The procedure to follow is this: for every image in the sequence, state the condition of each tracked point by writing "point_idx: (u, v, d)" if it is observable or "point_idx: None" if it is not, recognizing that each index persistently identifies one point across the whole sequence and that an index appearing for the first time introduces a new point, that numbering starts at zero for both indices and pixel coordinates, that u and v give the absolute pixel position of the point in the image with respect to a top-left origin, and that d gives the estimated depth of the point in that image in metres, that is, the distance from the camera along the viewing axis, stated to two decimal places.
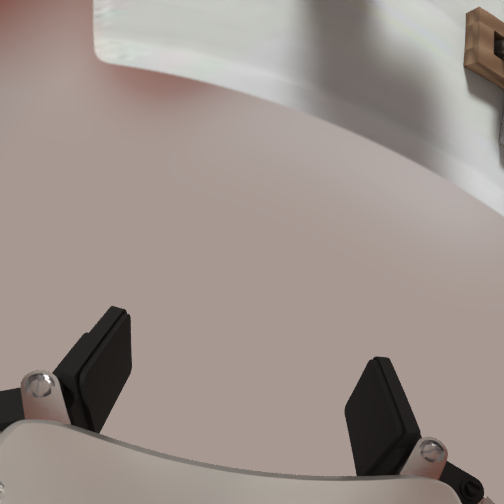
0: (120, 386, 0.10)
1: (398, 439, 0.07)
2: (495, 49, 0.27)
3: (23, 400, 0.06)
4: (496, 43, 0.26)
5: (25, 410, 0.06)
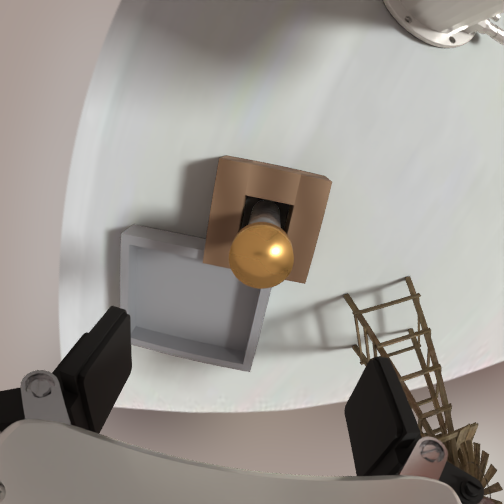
0: (120, 386, 0.10)
1: (398, 439, 0.07)
2: (260, 207, 0.29)
3: (23, 400, 0.06)
4: (270, 208, 0.28)
5: (25, 410, 0.06)
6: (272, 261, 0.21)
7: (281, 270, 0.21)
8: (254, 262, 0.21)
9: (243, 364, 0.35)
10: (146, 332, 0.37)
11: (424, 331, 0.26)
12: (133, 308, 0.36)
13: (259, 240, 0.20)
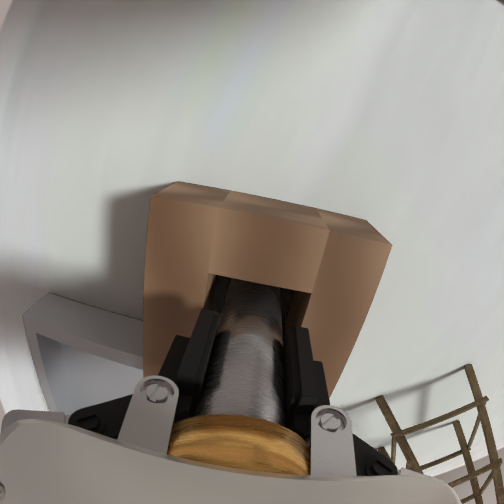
0: None
1: (297, 404, 0.09)
2: (242, 292, 0.14)
3: (132, 398, 0.07)
4: (261, 297, 0.14)
5: (129, 408, 0.07)
6: None
7: None
8: None
9: None
10: None
11: (494, 465, 0.11)
12: (67, 403, 0.21)
13: None
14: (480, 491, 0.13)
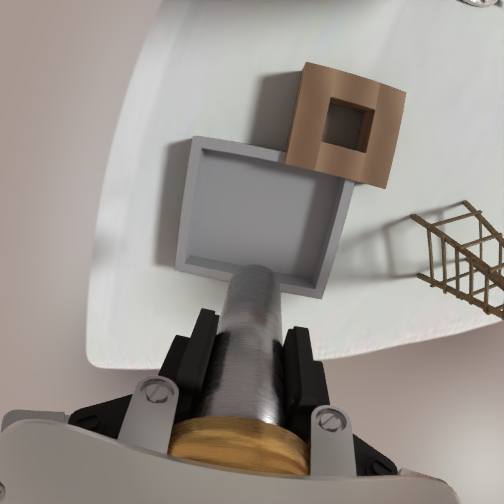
0: None
1: (297, 403, 0.09)
2: (242, 293, 0.14)
3: (132, 398, 0.07)
4: (261, 298, 0.14)
5: (129, 408, 0.07)
6: None
7: None
8: None
9: (315, 289, 0.33)
10: (203, 260, 0.35)
11: (497, 234, 0.24)
12: (191, 229, 0.33)
13: None
14: None
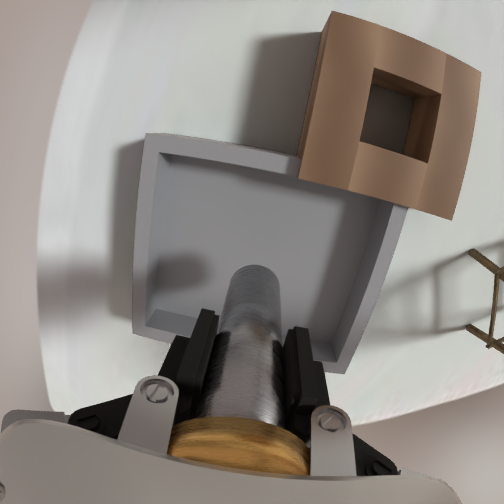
0: None
1: (297, 403, 0.09)
2: (242, 293, 0.14)
3: (132, 398, 0.07)
4: (261, 298, 0.14)
5: (129, 408, 0.07)
6: None
7: None
8: None
9: (337, 363, 0.22)
10: (174, 318, 0.23)
11: None
12: (154, 276, 0.22)
13: None
14: None
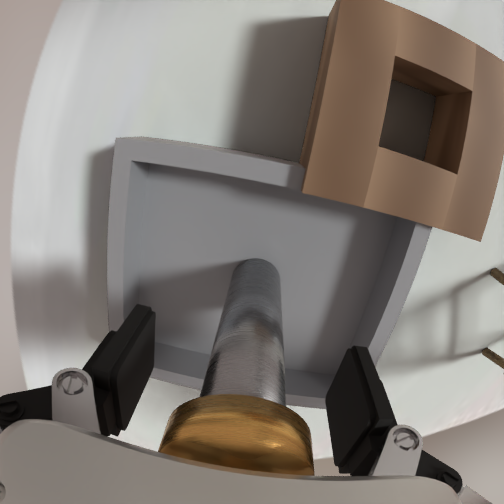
0: (144, 382, 0.11)
1: (371, 426, 0.08)
2: (244, 284, 0.15)
3: (52, 395, 0.06)
4: (263, 289, 0.14)
5: (53, 405, 0.06)
6: None
7: None
8: None
9: None
10: (158, 349, 0.20)
11: None
12: (133, 303, 0.18)
13: (225, 458, 0.06)
14: None
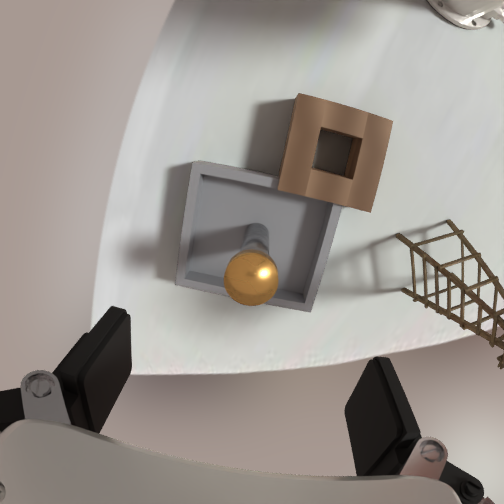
0: (120, 386, 0.10)
1: (398, 439, 0.07)
2: (251, 231, 0.33)
3: (23, 400, 0.06)
4: (260, 232, 0.32)
5: (25, 410, 0.06)
6: (260, 283, 0.24)
7: (267, 291, 0.25)
8: (245, 284, 0.25)
9: (305, 303, 0.36)
10: (202, 275, 0.37)
11: (475, 254, 0.27)
12: (191, 247, 0.36)
13: (249, 265, 0.24)
14: (477, 295, 0.29)
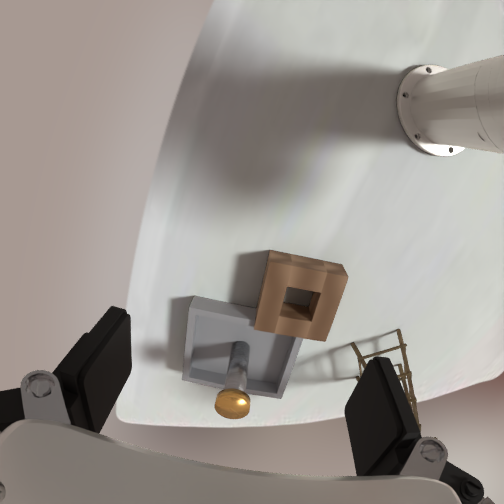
0: (120, 386, 0.10)
1: (398, 439, 0.07)
2: (235, 354, 0.43)
3: (23, 400, 0.06)
4: (241, 356, 0.43)
5: (25, 410, 0.06)
6: (238, 409, 0.35)
7: (243, 413, 0.35)
8: (228, 409, 0.35)
9: (277, 393, 0.47)
10: (201, 372, 0.48)
11: (407, 373, 0.37)
12: (192, 355, 0.47)
13: (230, 401, 0.35)
14: (409, 395, 0.39)
